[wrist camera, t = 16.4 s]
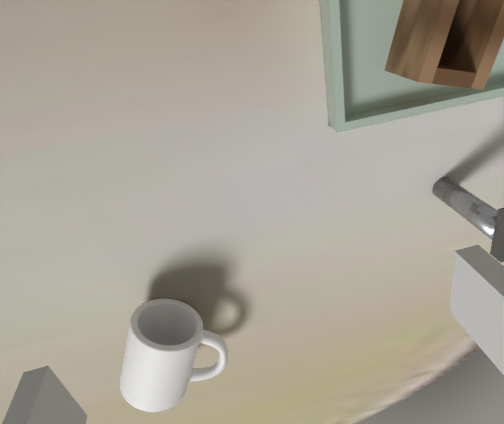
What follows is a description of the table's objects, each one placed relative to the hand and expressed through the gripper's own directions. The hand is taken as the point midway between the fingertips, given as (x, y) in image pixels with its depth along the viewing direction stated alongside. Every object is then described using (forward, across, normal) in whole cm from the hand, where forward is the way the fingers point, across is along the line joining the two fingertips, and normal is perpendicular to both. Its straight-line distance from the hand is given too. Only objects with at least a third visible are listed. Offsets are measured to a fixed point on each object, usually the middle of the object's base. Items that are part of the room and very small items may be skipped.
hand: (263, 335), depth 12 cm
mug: (+27, -11, -25) cm, 39 cm away
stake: (+27, +23, -15) cm, 39 cm away
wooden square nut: (+26, +21, +3) cm, 34 cm away
